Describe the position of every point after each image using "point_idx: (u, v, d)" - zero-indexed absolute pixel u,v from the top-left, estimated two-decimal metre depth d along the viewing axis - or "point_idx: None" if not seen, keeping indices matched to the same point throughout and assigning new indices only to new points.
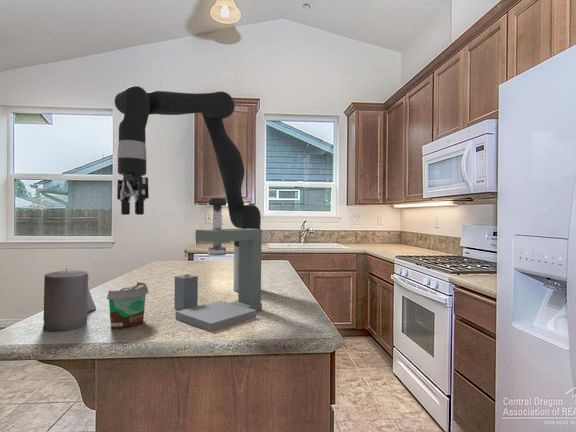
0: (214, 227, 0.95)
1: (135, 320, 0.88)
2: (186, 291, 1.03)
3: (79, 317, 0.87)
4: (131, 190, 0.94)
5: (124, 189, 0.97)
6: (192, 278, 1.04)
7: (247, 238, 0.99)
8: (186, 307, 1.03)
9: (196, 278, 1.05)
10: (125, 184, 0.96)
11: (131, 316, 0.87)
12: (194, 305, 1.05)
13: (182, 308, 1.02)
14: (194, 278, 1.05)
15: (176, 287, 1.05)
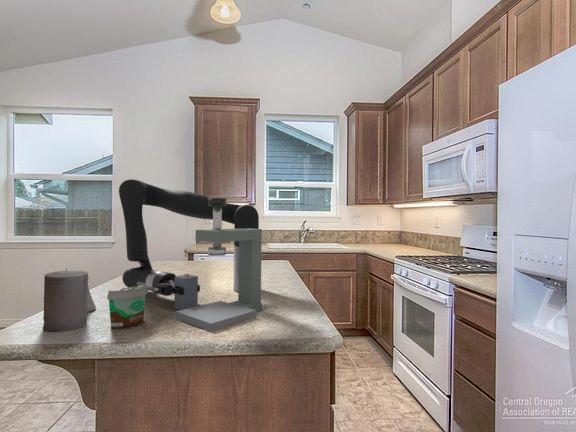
0: (214, 227, 0.95)
1: (135, 320, 0.88)
2: (186, 291, 1.03)
3: (79, 317, 0.87)
4: None
5: None
6: (192, 278, 1.04)
7: (247, 238, 0.99)
8: (186, 307, 1.03)
9: (196, 278, 1.05)
10: None
11: (131, 316, 0.87)
12: (194, 305, 1.05)
13: (182, 308, 1.02)
14: (194, 278, 1.05)
15: None
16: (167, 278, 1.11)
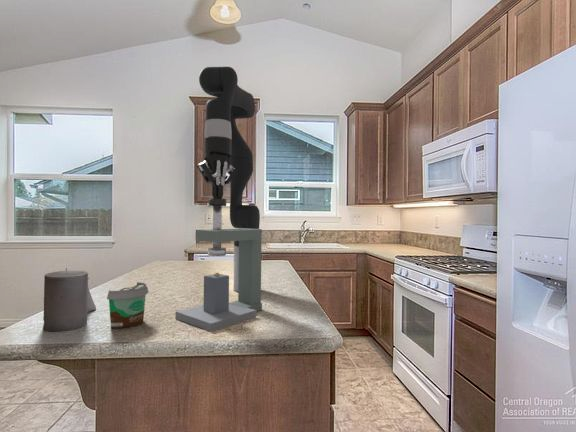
0: (214, 227, 0.95)
1: (135, 320, 0.88)
2: (218, 292, 0.93)
3: (79, 317, 0.87)
4: (224, 173, 0.96)
5: None
6: (223, 278, 0.95)
7: (247, 238, 0.99)
8: (217, 310, 0.93)
9: (227, 278, 0.96)
10: None
11: (131, 316, 0.87)
12: (225, 307, 0.95)
13: (213, 311, 0.93)
14: (225, 278, 0.95)
15: (206, 287, 0.95)
16: None
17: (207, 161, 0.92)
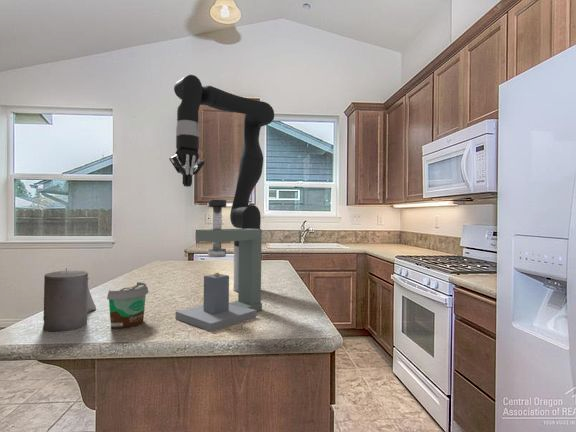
0: (214, 229, 0.95)
1: (135, 320, 0.88)
2: (218, 292, 0.93)
3: (79, 317, 0.87)
4: (193, 165, 1.16)
5: None
6: (223, 278, 0.95)
7: (247, 238, 0.99)
8: (217, 310, 0.93)
9: (227, 278, 0.96)
10: None
11: (131, 316, 0.87)
12: (225, 307, 0.95)
13: (213, 311, 0.93)
14: (225, 278, 0.95)
15: (206, 287, 0.95)
16: None
17: (178, 155, 1.12)
